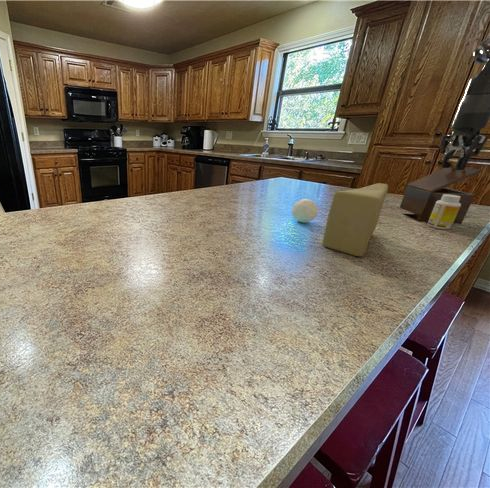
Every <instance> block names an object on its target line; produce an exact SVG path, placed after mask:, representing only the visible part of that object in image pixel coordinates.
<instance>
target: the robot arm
mask: <svg viewBox="0 0 490 488" xmlns="http://www.w3.org/2000/svg"><path fill="white" fill-rule="evenodd" d="M472 59H473V61H474V62H475V63H476V64H481V65H484V67H483V68H482V69H481V70H480V71H479V72H477V73H475V74H474V75H473V76H472V77H471V78H470V80H469V81H468V84H467V87H466V89H465V92H464V96H463V97H462V99H461V100H460V103H459V106H458V108H457V111H456V114H455V116H454V118H453V121H452V123H451V129H453V131H452V133H451V134H444V135H443V137H442V141H441V145H440V154H442V155H443V157H444V158H443V160H442V163H441V166H440V167H441V169H444V168H449V167H450V163H448V162H447V160H448V159H449V158H455V155H456V153H457V152H458V151H459V157H458V158H457V159H458V162H457V164H455V166H456V167H455V170H464V169H465V167H466V168H467V165H468V162H469V160H470V159H471V158H472V157H478V156H479V154H480V152H481V151H482V149H483V148H484V146H485V144H486V143H487V141H488V140H489V138H490V137H489V135H483V134H481V130H482V129H486V127H487V126H488V123H489V121H490V35H489V36H487V37H486V38H484V39H483V40H482V41H481V42H480V43H479V44H478V45H477V46H476V48H475V49H474V51H473V55H472Z"/></svg>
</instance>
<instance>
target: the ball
mask: <svg viewBox="0 0 490 488" xmlns="http://www.w3.org/2000/svg"><path fill="white" fill-rule="evenodd" d="M291 214H292V218H293V219H294V220H295V221H296V222H298V223H303V224H307V223H309V222H312V221H314V220H315V219H316V218H317V216H318V214H319V207H318V205H317V203H315V201H313V199H307V198H302V199H300V200H297V201H296V203H294V204H293V206H292V209H291Z"/></svg>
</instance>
